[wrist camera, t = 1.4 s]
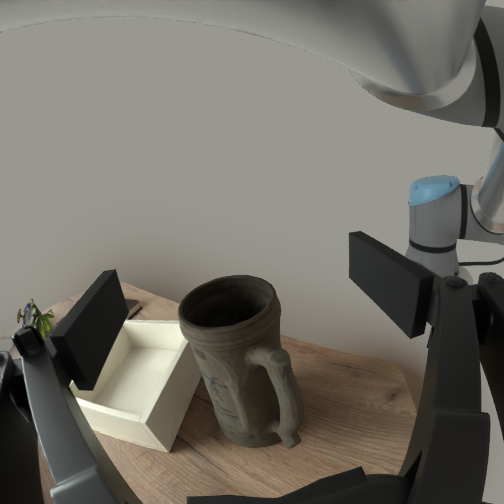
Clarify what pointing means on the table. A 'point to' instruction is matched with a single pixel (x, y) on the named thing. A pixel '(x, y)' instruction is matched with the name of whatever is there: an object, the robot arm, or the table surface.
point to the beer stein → (243, 359)
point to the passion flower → (31, 315)
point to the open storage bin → (143, 385)
